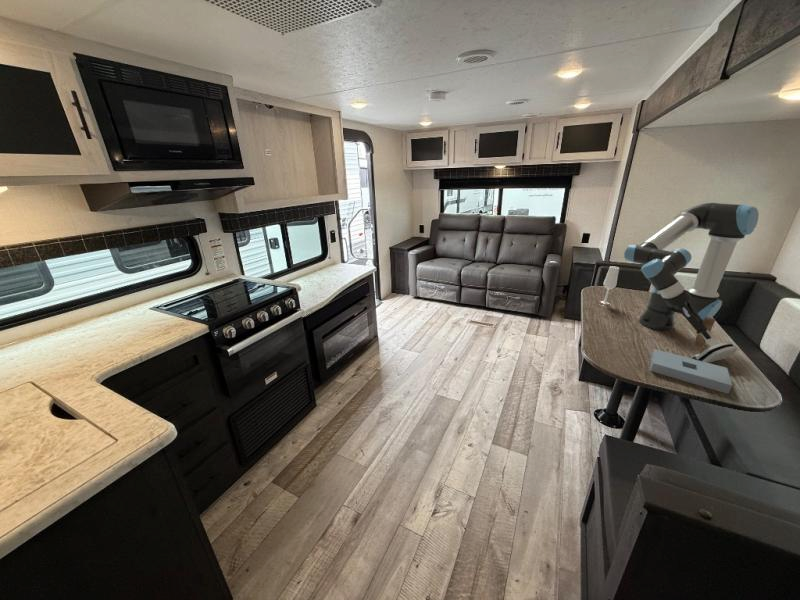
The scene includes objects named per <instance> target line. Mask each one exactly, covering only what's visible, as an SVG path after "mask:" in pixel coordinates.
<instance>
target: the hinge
mask: <svg viewBox="0 0 800 600" xmlns="http://www.w3.org/2000/svg"><path fill="white" fill-rule="evenodd" d="M738 350H739V348H738V347H737V346H735V345H734V344H733V343H732V342H728V341H726V342H725V341H724V342H720V343H719V344H717V345H714V346H709V347H707V348H705V349H704V350H703V351H702V352H701V353H698V354H694V355H692V356H691V357H690V358H691V359H695V360H699V361H702V362H706V363H712V362H717V361H720V360H723V359H724V360H725V359H728V358H729V357H731V356H732V355H733V354H734V353H735V352H737V351H738Z"/></svg>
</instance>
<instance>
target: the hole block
mask: <svg viewBox="0 0 800 600" xmlns="http://www.w3.org/2000/svg"><path fill="white" fill-rule="evenodd" d="M649 370H650V372H652V373H655V374H659V375H663V376H666V377H670V378H673V379H675V380H680V381H684V382H686V383H689V384H694V385H697V386H699V387H703V388H706V389H710V390H714V391H717V392H720V393H724V394H727V395H729V393H730V392H731V389H732V387H733V382H732V380H731V376H730V373H729V370H728V367H725V366H721V365H717V364H713V363H711V362H709V363H706V362H702V361H701V360H697V359H696V358H691V357H687V356H683V355H679V354H676V353H671V352H667V351H664V350H660V349H656V348H654V349H653V350H652V353H651V357H650V369H649Z"/></svg>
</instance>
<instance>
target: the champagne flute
mask: <svg viewBox="0 0 800 600" xmlns="http://www.w3.org/2000/svg"><path fill="white" fill-rule="evenodd" d="M619 273H620V267H618V266H613V265H612V266H611V265H610V266H609V268H608V271H607V273H606V276H605V279H604V281H603V286H604V288H605V289H606V293H605V296H604V300H602V301H600V302H601V303H603V304H610V303H609V302H608V300H607V299H608V296H609V294H610V290H612V289H615V287H616V286H617V282H618V276H619Z"/></svg>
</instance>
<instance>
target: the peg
mask: <svg viewBox="0 0 800 600" xmlns="http://www.w3.org/2000/svg"><path fill="white" fill-rule="evenodd" d="M715 321H716V319H715V318H713V317H712V318H710V317H705V319H704V321H703V323H702V324H703V325H704V327H705V328H706V329H708V331H709V332H710V331H711V332H712V329H713V326H714V324H715ZM696 334H697V333H696ZM705 343H707V342H706V341H705V339H704V338H703V337H702V336H701V334H700V333H698V334H697V335H696V336H695V340H694V342H693V344H692V348H694V349H696V350H702V349H703V348H704V346H705Z"/></svg>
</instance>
